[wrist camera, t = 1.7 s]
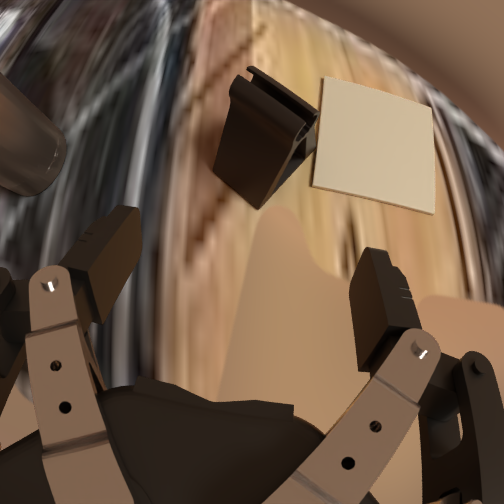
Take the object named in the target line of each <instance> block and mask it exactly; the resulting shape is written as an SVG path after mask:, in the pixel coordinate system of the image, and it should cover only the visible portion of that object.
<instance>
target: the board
mask: <svg viewBox="0 0 504 504" xmlns="http://www.w3.org/2000/svg"><path fill="white" fill-rule="evenodd" d="M312 187H314V188H319V189H324V190H329V191H334V192H338V193H343V194H348V195H352V196H356V197H361V198H365V199H370V200H374V201H378V202H382V203H386V204H390V205H394V206H398V207H402V208H406V209H410V210H414V211H418V212H422V213H425V214H429V215H434V214H435V154H434V136H433V122H432V111H431V108H430V107H427V106H425V105H422V104H419V103H416V102H414V101H411V100H408V99H405V98H402V97H399V96H396V95H393V94H390V93H387V92H383V91H380V90H377V89H373V88H370V87H367V86H363V85H359V84H356V83H352V82H348V81H344V80H340V79H336V78H332V77H328V76H324V81H323V92H322V102H321V112H320V122H319V131H318V140H317V149H316V157H315V166H314V174H313V182H312Z"/></svg>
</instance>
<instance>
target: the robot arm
mask: <svg viewBox="0 0 504 504" xmlns="http://www.w3.org/2000/svg"><path fill="white" fill-rule="evenodd" d="M66 148H67V146H66V139H65V137H64V134H63V133H62V132H61V130H60V129H59V128H58V127H57V126H55V125H54V124H53V123H52V122H51V121H50V120H49V119H48V118H47V117H46V116H45V115H44V114H43V113H42V112H41V111H40V110H39V109H38V108H37V107H36V106H35V105H34V104H33V103H31V102H30V101H29V100H28V99H27V98H26V97H25V96H24V95H23V94H22V93H21V92H20V91H19V90H18V89H17V88H16V87H15V86H14V85H13V84H12V83H11V82H10V81H9V80H8V79H7V78H6V77H5V76H4V75H3V74H2V73H1V72H0V185H1V186H3V187H5V188H7V189H9V190H11V191H13V192H16V193H18V194H20V195H22V196H34V195H36V194H39V193H40V192H42V191H43V190H45V189H46V188H47V187H48V186H49V185H50V184H51V183H52V182H53V181H54V180H55V178H56V177H57V175H58V174H59V172H60V170H61V168H62V166H63V163H64V160H65V156H66ZM141 251H142V234H141V222H140V211H139V209H138V208H137V207H131V206H124V205H117V206H116V207H115V208H114V209H113V210H112V212H111V213H110V214H109V215H108V216H107V217H105V216H103V217H101V218H100V219H98V220H96V221H95V222H93V223H92V224H91V225H90V226H89V227H88V228H87V230H86V231H85V232H84V234H82V235H81V237H80V238H79V239H78V241H77V242H76V243H75V244H74V245H73V246H72V248H71V249H70V250H69V251H68V253H67V254H66V255H65V256H64V258H63V259H62V260H61V261H60V263H59V264H58V265H57V266H56V265H53V266H47V267H44V268H42V269H40V270H39V271H37V272H36V273H35V274H34V275H33V276H32V278H31V279H30V280H12V277H11V275H10V273H9V271H8V270H7V269H6V268H3V267H0V416H1V413H2V411H3V409H4V406H5V404H6V401H7V399H8V396H9V394H10V392H11V390H12V388H13V385H14V383H15V381H16V379H17V376H18V374H19V372H20V370H21V368H22V366H23V364H24V362H25V360H26V358H27V362H28V370H29V377H30V384H31V390H32V396H33V402H34V407H35V412H36V417H37V422H38V426H39V429H38V430H36V431H35V432H33V433H31V434H29V435H28V436H26V437H24V438H22V439H21V440H19V441H17V442H16V443H14V444H12V445H10V446H9V447H7V448H5V449H3V450H1V444H0V450H1V451H0V504H379V503H378V501H377V500H376V499H375V498H374V497H373V495H372V494H371V493H370V492H369V490H370V488H371V487H372V485H373V484H374V482H375V481H376V480H377V478H378V477H379V476H380V474H381V473H382V471H383V470H384V468H385V467H386V465H387V464H388V462H389V461H390V459H391V457H392V456H393V455H394V453H395V452H396V450H397V448H398V447H399V445H400V443H401V442H402V440H403V439H404V437H405V435H406V433H407V432H408V430H409V428H410V427H411V425H412V423H413V421H414V420H415V418H416V416H417V414H418V419H419V430H420V442H421V460H422V498H423V499H422V500H423V501H422V504H504V409H503V404H502V400H501V396H500V392H499V388H498V384H497V381H496V377H495V374H494V370H493V367H492V365H491V363H490V362H489V360H488V359H487V358H486V357H485V356H484V355H482V354H481V353H479V352H475V351H469V352H467V353H466V354H465V355H464V356H463V357H462V358H461V359H460V360H459V359H457V358H454V357H452V356H449V355H447V354H444V353H442V352H441V350H440V347H439V344H438V343H437V341H436V340H435V338H434V337H433V336H432V335H430V334H429V333H428V332H426V331H424V330H422V327H421V323H420V320H419V317H418V313H417V310H416V307H415V304H414V301H413V300H412V295H411V292H410V291H409V286H408V283H407V280H406V277H405V276H404V275H403V273H402V272H401V271H400V270H399V268H398V267H395V266H392V264H391V261H390V258H389V255H388V252H387V251H386V250H380V249H375V248H370V247H366V248H365V249H364V251H363V253H362V255H361V258H360V260H359V263H358V265H357V268H356V270H355V272H354V275H353V277H352V280H351V283H350V288H349V300H350V306H351V314H352V321H353V329H354V337H355V345H356V355H357V364H358V371H359V372H370V380H369V381H368V382H367V384H366V385H365V386H364V388H363V389H362V390H361V392H360V393H359V394H358V396H357V397H356V398H355V399H354V401H353V402H352V403H351V404H350V406H349V407H348V408H347V409H346V411H345V412H344V413H343V414H342V415H341V417H340V418H339V419H338V420H337V421H336V423H335V424H334V425H333V426H332V427H331V428H330V430H329V431H328V432H327V433H326V434H323V432H321V431H320V430H319V429H318V428H316V427H315V426H314V425H312V424H311V423H309V422H307V421H305V420H303V419H301V418H299V417H297V416H294V415H293V413H294V412H293V411H294V405H291V404H282V403H274V402H266V401H259V400H247V401H232V402H211V401H208V400H206V399H204V398H202V397H200V396H197V395H195V394H193V393H191V392H189V391H187V390H185V389H183V388H180V387H178V386H176V385H174V384H170V383H165V382H161V381H157V380H153V379H149V378H146V377H142V376H138V377H137V380H136V383H135V386H134V385H130V386H120V387H115V388H111V389H108V390H107V389H106V386H105V384H104V381H103V378H102V376H101V373H100V369H99V366H98V363H97V359H96V356H95V352H94V349H93V345H92V341H91V338H90V334H89V331H88V327H89V326H90V324H91V322H94V323H98V324H101V325H103V324H104V322H105V320H106V318H107V316H108V314H109V312H110V311H111V309H112V307H113V305H114V303H115V301H116V299H117V298H118V296H119V294H120V292H121V290H122V288H123V287H124V285H125V283H126V281H127V279H128V278H129V276H130V274H131V272H132V271H133V269H134V267H135V265H136V264H137V262H138V260H139V258H140V255H141ZM458 413H460V416H461V422H462V428H463V437H462V440H461V438H460V431H459V424H458V417H457V414H458Z"/></svg>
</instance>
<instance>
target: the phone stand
mask: <svg viewBox="0 0 504 504" xmlns="http://www.w3.org/2000/svg"><path fill="white" fill-rule="evenodd" d="M246 70H247V71H249V72H250V73H252V74H253V78H252V80H251V82H249V81H248V80H246V79H245V78H243V77H242V76H240V75H239V74H238V75H237V76H236V78H235V79H234V81H233V82H232V84H231V86H230V89H229V96H230V108H229V112H228V115H227V119H226V122H225V126H224V130H223V133H222V137H221V141H220V145H219V148H218V152H217V156H216V160H215V164H214V168H213V172H214V173H215V174H217V175H218V176H219V177H220V178H221V179H223V180H224V181H225V182H226V183H227V184H229V185H230V186H231V187H232V188H233V189H235V190H236V191H237V192H238V193H239V194H241V195H242V196H243V197H244V198H245V199H246V200H248V201H249V202H250V203H251V204H252V205H253V206H255V207H256V208H257V209H258V210H259V209H260V208H261V207H262V206H263V205H264V204H265V203H266V202H267V201H268V199H269V198H270V197H271V196H272V195H273V194H274V193H275V192H276V191H277V190H278V189H279V187H280V186H281V185H282V184H283V183H284V182H285V181H286V180H287V179H288V177H290V176H291V174H292V173H293V172H294V171H295V170H296V169H297V168H298V167H299V166H300V165H301V164H302V163H303V162H304V161H305V159H306V158H307V157H308V156H309V155H310V154H311V153H312V152H313V151H314V150H315V148H316V141H315V129H314V126H315V123H316V121H317V119H318V117H319V115H320V112H319V111H318V110H316V109H315V108H314V107H312V106H311V105H310V104H308V103H307V102H306V101H304V100H303V99H301V98H300V97H299V96H297V95H296V94H294V93H293V92H292V91H290V90H289V89H287V88H286V87H285V86H283V85H282V84H280V83H279V82H277V81H276V80H274V79H273V78H271V77H270V76H268V75H267V74H265V73H264V72H262V71H261V70H259V69H258V68H256V67H254V66H249V67H247V69H246Z"/></svg>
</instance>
